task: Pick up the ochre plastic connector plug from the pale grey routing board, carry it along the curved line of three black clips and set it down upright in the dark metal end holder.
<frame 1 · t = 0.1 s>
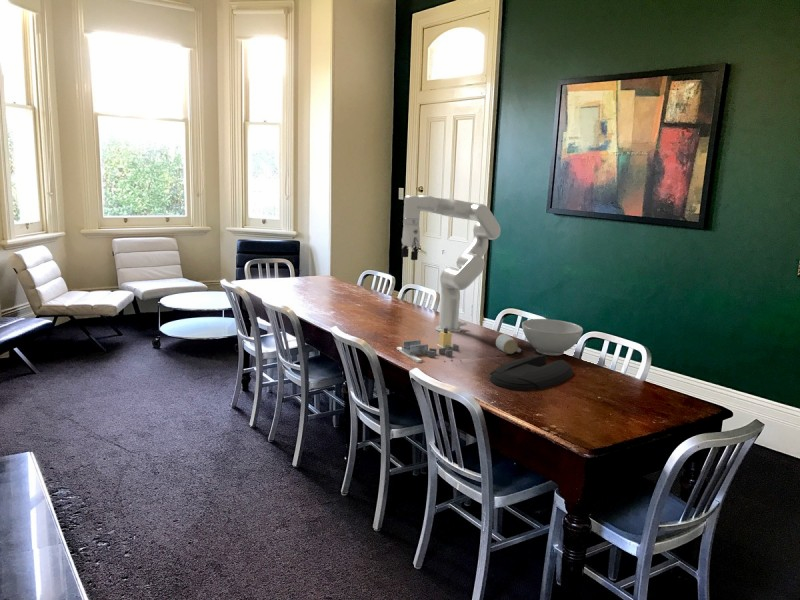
hand: (409, 258, 291), 37 cm above the table, tool pointing down, fingers open, 9 cm apart
routing board: (432, 353, 267), on the table
decorative bowl: (549, 352, 279), on the table
ceramic mug: (508, 352, 275), on the table
end holder: (414, 354, 264), resting on routing board
folded dark cloth: (529, 377, 242), on the table
connector: (444, 345, 276), point 1 cm above the table, touching routing board
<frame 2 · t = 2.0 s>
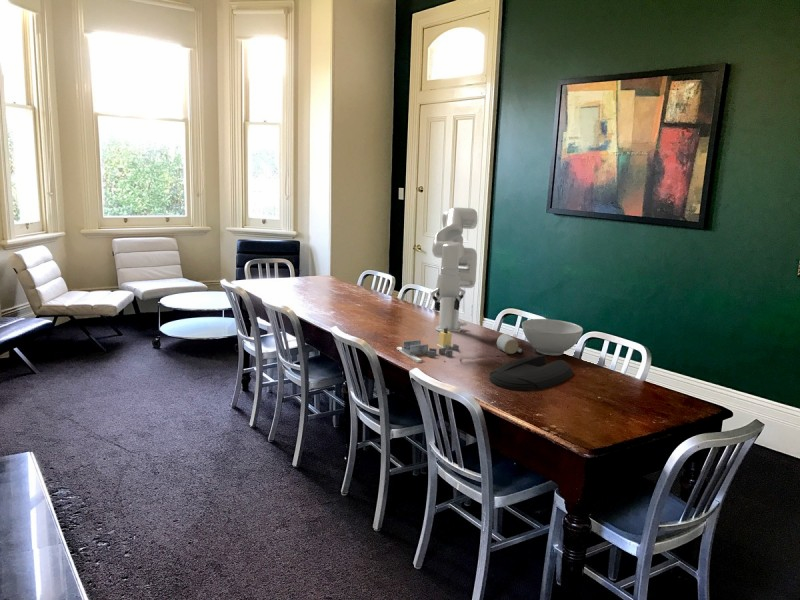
hand: (446, 310, 273), 18 cm above the table, tool pointing down, fingers open, 9 cm apart
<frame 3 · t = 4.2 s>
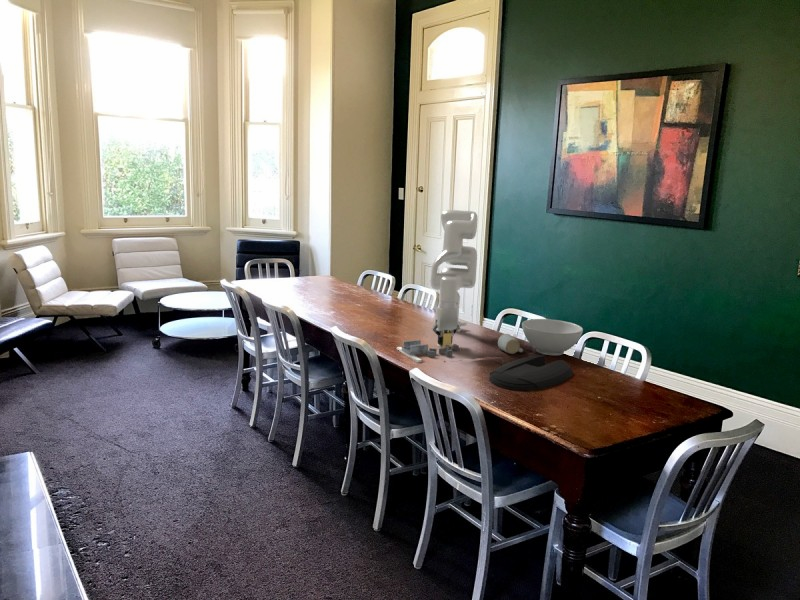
hand: (444, 344, 276), 2 cm above the table, tool pointing down, fingers closed on connector, 4 cm apart
connector: (444, 345, 276), point 1 cm above the table, touching gripper
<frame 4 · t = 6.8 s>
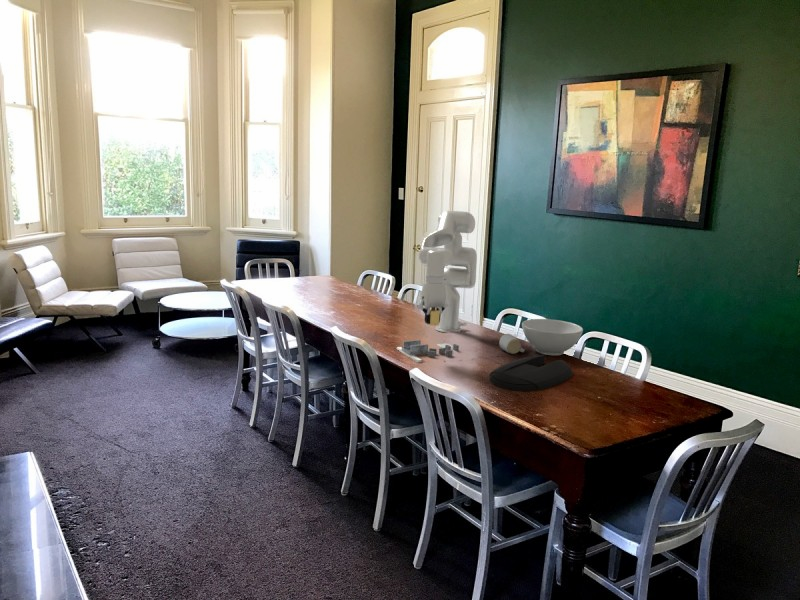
hand: (432, 322, 258), 15 cm above the table, tool pointing down, fingers closed on connector, 4 cm apart
connector: (432, 324, 258), point 15 cm above the table, touching gripper
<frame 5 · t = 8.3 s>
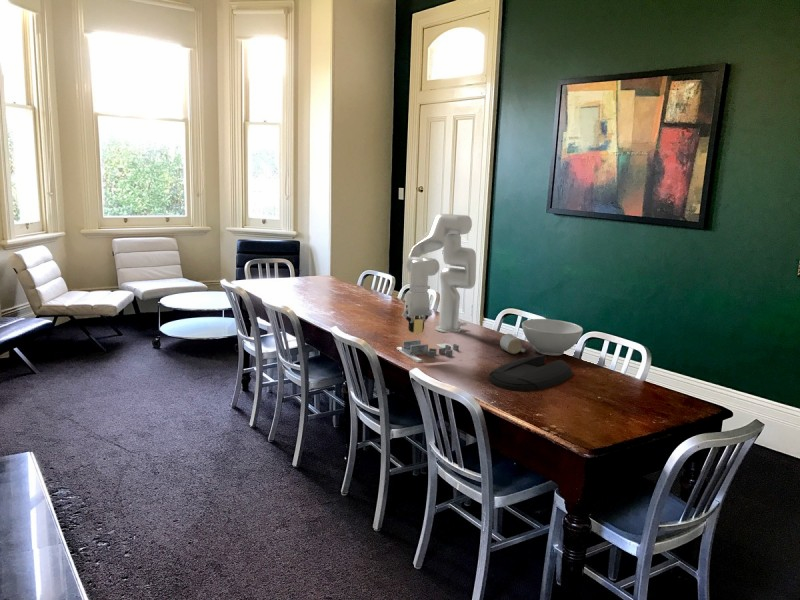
hand: (416, 330, 262), 10 cm above the table, tool pointing down, fingers closed on connector, 4 cm apart
connector: (416, 332, 262), point 10 cm above the table, touching gripper
when the fingers open (4 cm above the table, at t = 9.7 s): connector drops 2 cm, resting on routing board.
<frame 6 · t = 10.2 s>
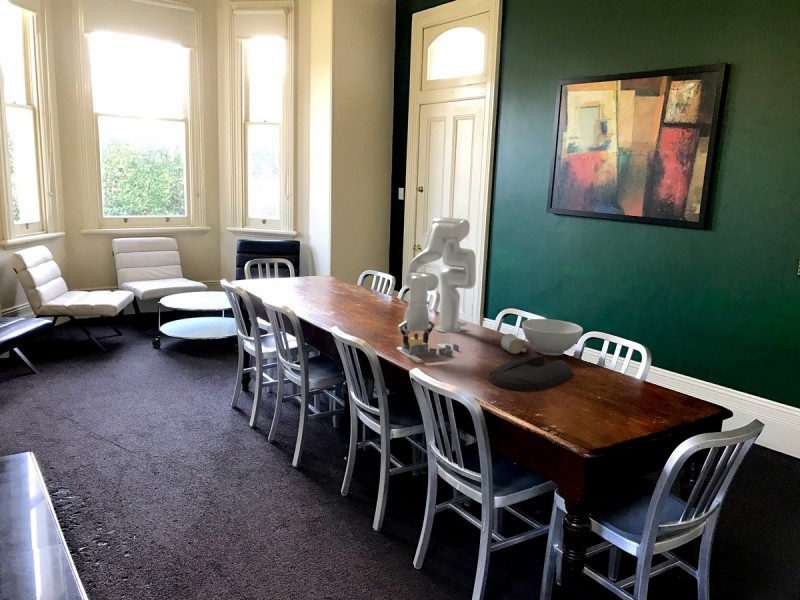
hand: (415, 343, 263), 5 cm above the table, tool pointing down, fingers open, 9 cm apart
connector: (415, 351, 264), point 1 cm above the table, touching routing board
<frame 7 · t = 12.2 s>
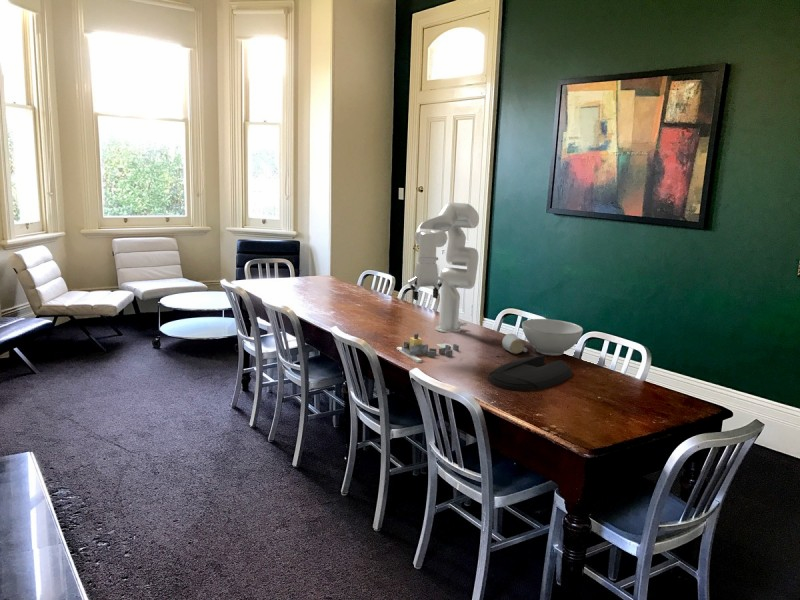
hand: (425, 298, 269), 23 cm above the table, tool pointing down, fingers open, 9 cm apart
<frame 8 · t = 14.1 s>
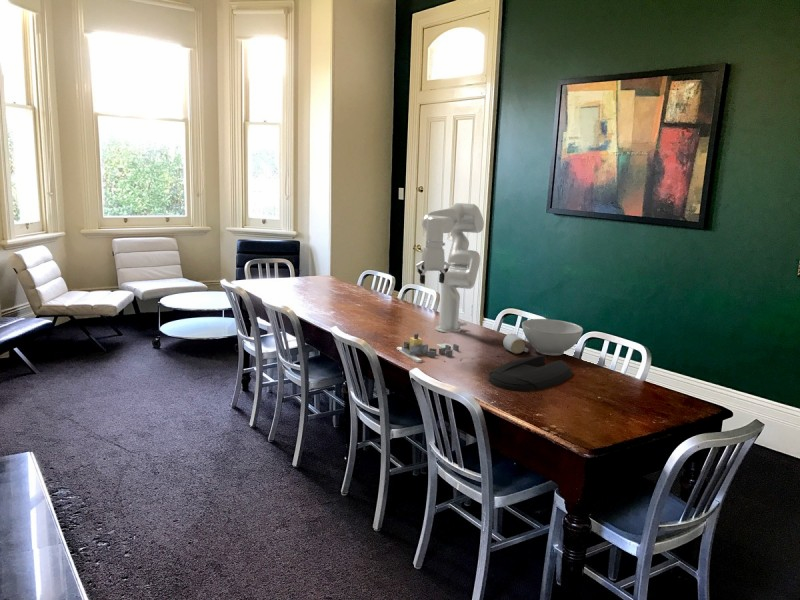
hand: (431, 283, 276), 28 cm above the table, tool pointing down, fingers open, 9 cm apart
at the end: connector 0.3 cm off-centre on the end holder, point 1.0 cm above the end holder's base; connector tilted 0°; the gripper is holding nothing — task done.
